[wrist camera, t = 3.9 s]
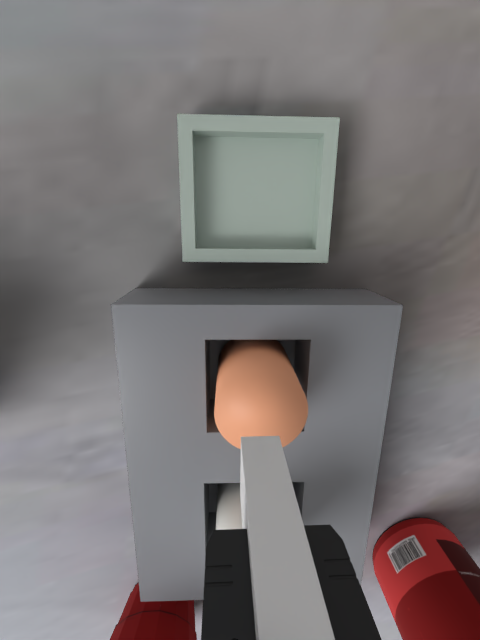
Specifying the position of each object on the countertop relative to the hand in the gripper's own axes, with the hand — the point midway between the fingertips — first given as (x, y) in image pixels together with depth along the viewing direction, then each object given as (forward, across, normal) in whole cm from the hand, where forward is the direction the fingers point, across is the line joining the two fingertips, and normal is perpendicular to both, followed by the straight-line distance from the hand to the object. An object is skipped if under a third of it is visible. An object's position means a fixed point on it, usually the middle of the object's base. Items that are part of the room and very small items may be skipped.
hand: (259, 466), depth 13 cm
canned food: (+12, +16, -19) cm, 27 cm away
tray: (+12, +1, +11) cm, 16 cm away
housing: (+12, +1, -6) cm, 13 cm away
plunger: (+10, +1, 0) cm, 10 cm away
